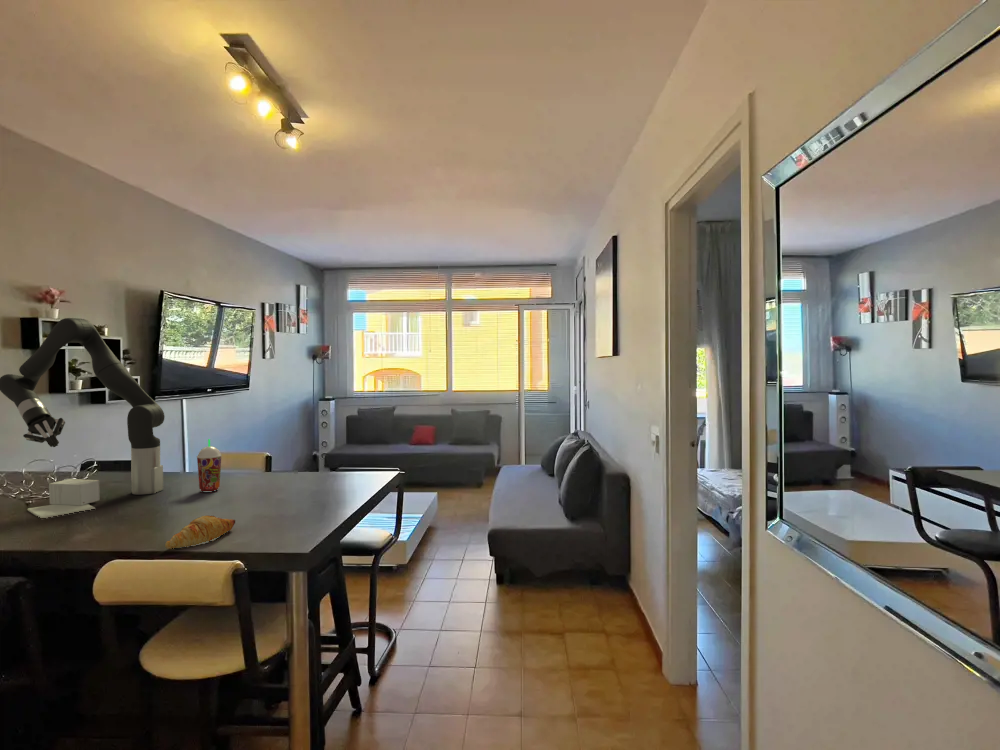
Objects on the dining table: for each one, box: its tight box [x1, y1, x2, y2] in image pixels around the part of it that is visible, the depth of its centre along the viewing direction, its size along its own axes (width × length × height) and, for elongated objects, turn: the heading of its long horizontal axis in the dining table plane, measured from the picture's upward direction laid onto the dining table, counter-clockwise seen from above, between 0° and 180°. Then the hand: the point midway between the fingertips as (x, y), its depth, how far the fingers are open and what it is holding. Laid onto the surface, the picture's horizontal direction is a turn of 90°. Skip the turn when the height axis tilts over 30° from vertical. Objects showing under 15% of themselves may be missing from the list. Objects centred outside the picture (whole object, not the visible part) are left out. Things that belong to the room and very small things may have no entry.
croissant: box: [164, 515, 236, 550], centre depth 150 cm, size 21×10×8 cm, turn 158°
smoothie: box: [196, 438, 222, 492], centre depth 205 cm, size 8×8×20 cm
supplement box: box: [48, 478, 101, 506], centre depth 186 cm, size 7×7×13 cm
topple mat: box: [27, 503, 96, 519], centre depth 179 cm, size 16×14×1 cm
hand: (55, 445), depth 193 cm, fingers closed
